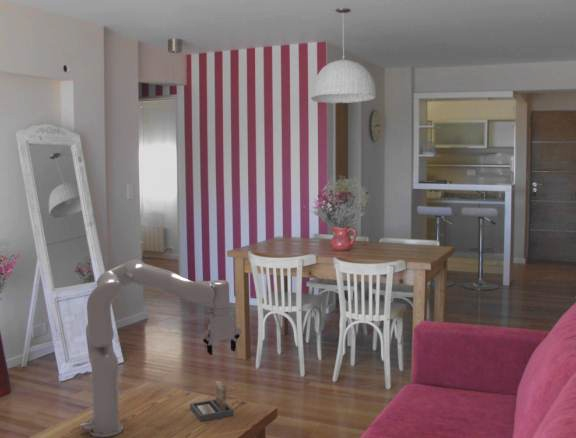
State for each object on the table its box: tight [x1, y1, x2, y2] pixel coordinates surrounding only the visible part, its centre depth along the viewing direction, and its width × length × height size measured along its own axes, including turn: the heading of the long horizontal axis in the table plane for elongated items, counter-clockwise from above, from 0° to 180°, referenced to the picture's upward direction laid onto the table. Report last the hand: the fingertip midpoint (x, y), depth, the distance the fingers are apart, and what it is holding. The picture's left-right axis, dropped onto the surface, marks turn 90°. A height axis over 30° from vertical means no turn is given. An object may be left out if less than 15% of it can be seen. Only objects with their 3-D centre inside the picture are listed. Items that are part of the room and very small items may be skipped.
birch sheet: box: [215, 380, 227, 411], centre depth 267 cm, size 2×7×12 cm, turn 25°
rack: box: [189, 398, 234, 423], centre depth 266 cm, size 14×14×3 cm
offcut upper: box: [197, 404, 215, 415], centre depth 265 cm, size 5×10×2 cm, turn 23°
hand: (221, 352), depth 265 cm, fingers open, 9 cm apart
